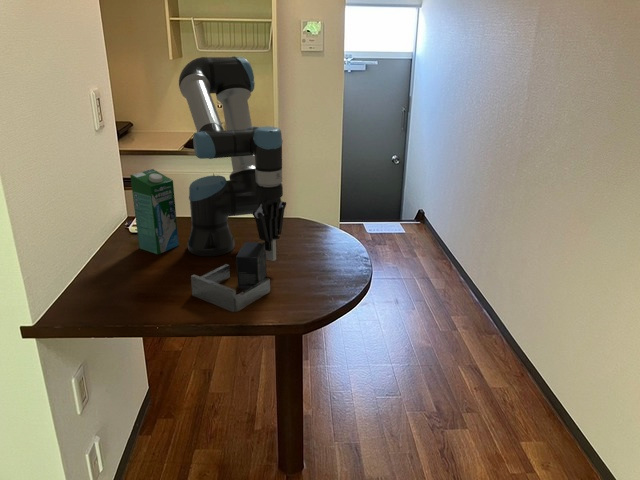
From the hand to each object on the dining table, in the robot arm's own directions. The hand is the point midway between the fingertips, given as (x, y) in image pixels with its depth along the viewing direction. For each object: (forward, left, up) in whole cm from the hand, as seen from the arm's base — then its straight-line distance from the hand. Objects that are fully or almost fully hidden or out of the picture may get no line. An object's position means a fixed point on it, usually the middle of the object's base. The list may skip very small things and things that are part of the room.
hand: (271, 259), depth 158 cm
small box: (0, -9, -4) cm, 10 cm away
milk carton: (-41, -8, -4) cm, 42 cm away
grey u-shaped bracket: (0, -17, -4) cm, 17 cm away
